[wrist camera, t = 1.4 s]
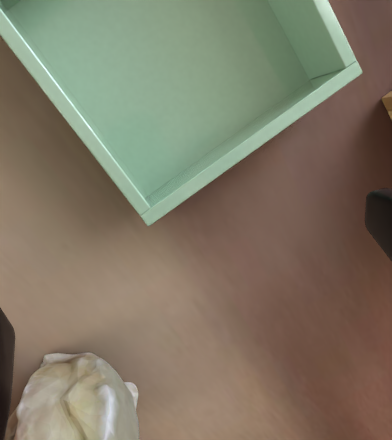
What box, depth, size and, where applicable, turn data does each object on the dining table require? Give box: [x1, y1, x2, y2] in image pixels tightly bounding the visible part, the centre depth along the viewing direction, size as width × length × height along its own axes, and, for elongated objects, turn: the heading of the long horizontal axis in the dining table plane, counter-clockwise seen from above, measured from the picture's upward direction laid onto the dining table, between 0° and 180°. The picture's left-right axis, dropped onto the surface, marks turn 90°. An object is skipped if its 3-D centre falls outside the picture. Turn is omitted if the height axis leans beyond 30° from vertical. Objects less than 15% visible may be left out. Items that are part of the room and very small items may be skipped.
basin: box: [0, 0, 362, 226], centre depth 18 cm, size 13×13×5 cm
